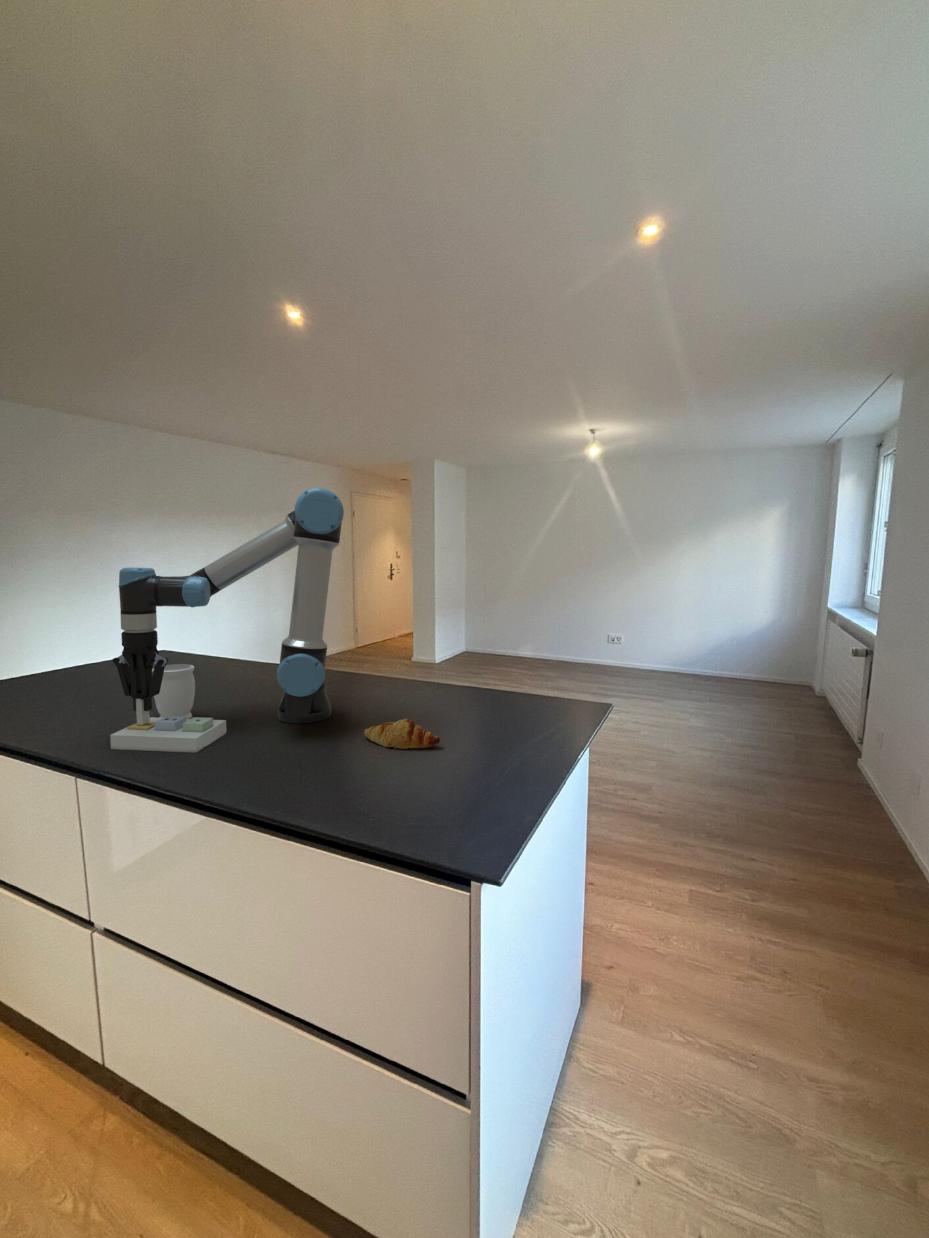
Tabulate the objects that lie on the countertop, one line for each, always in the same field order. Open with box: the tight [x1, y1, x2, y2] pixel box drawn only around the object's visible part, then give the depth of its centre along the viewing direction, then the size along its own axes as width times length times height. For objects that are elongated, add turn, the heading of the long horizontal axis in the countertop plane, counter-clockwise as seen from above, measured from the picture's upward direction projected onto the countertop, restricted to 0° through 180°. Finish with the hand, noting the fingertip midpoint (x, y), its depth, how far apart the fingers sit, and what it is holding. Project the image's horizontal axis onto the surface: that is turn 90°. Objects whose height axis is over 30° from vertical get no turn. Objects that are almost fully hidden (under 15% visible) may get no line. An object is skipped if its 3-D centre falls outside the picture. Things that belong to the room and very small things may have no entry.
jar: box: [152, 663, 196, 719], centre depth 146 cm, size 11×10×15 cm
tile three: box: [126, 721, 155, 730], centre depth 129 cm, size 5×5×3 cm
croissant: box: [363, 718, 441, 750], centre depth 131 cm, size 21×10×8 cm, turn 73°
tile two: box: [155, 716, 186, 731], centre depth 129 cm, size 5×5×3 cm
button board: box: [109, 717, 227, 754], centre depth 129 cm, size 21×14×4 cm, turn 87°
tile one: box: [182, 716, 214, 732], centre depth 128 cm, size 5×5×3 cm
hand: (143, 723), depth 129 cm, fingers closed
